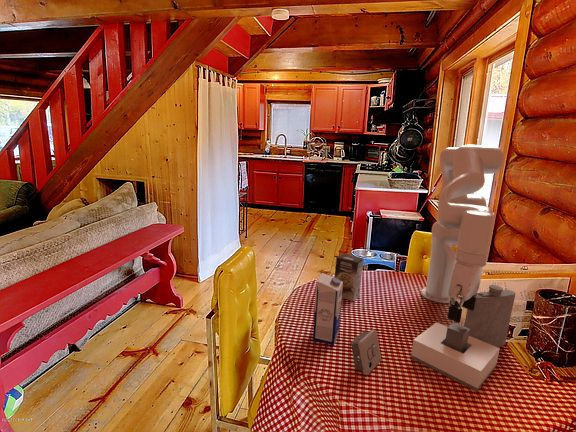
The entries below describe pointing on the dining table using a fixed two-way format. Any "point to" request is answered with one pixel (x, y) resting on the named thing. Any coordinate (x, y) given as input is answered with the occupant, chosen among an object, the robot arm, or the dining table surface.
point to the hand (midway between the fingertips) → (460, 314)
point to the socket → (455, 357)
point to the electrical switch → (366, 351)
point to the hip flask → (491, 315)
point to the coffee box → (349, 275)
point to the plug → (457, 337)
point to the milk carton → (327, 309)
